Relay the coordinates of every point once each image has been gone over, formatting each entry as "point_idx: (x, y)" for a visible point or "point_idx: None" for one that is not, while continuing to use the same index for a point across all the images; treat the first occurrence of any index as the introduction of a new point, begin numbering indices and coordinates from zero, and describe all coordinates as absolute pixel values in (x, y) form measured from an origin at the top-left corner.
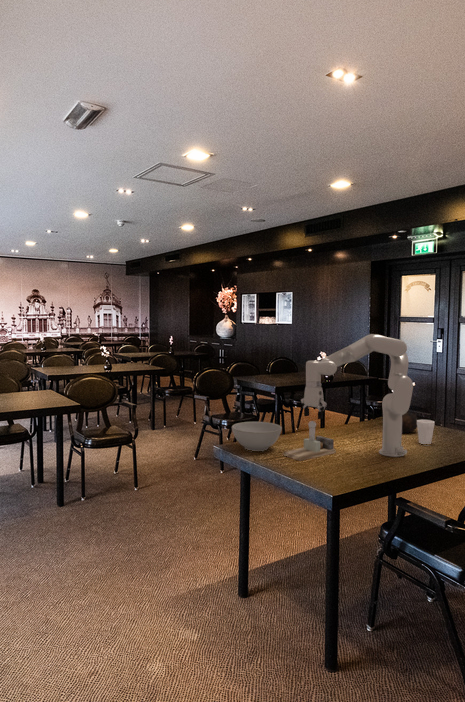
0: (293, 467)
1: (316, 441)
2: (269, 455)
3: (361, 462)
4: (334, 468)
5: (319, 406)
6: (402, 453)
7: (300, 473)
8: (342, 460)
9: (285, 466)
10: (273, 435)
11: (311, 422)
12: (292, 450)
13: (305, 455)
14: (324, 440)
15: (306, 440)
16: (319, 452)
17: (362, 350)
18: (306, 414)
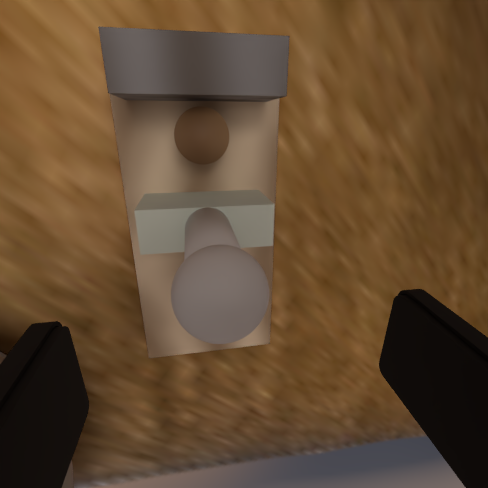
0: (309, 392)
1: (251, 222)
2: (116, 391)
3: (476, 96)
4: (422, 278)
5: None
6: None
7: (367, 404)
8: (389, 155)
9: (282, 408)
10: (68, 468)
11: (241, 338)
12: (152, 308)
13: (267, 309)
14: (224, 96)
15: (172, 250)
16: None
17: None
18: (71, 409)
